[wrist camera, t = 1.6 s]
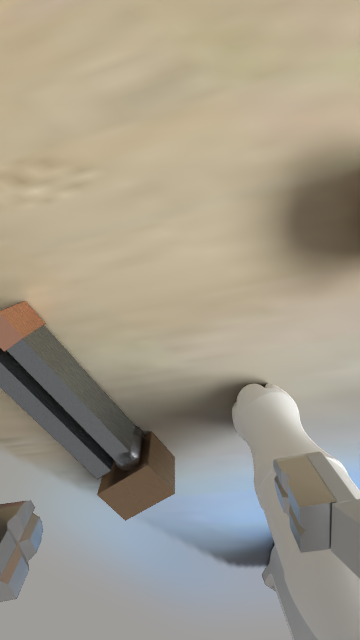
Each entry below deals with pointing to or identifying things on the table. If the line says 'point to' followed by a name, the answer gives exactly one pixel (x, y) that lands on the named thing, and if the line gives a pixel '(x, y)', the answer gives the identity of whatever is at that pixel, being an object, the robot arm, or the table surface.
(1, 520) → the robot arm
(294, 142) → the table surface
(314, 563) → the water bottle
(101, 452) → the tong base
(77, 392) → the tong arm
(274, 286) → the table surface
